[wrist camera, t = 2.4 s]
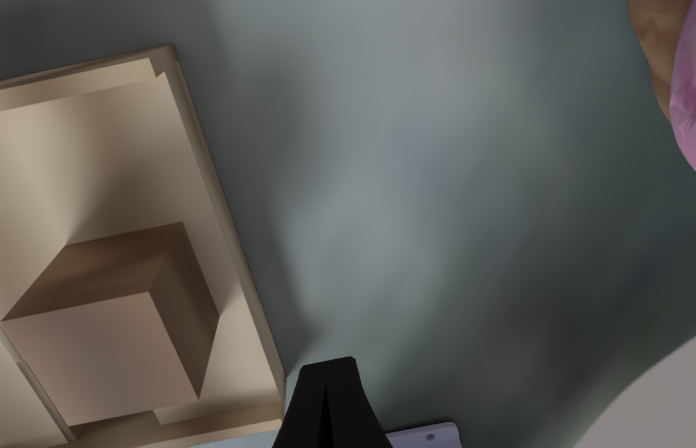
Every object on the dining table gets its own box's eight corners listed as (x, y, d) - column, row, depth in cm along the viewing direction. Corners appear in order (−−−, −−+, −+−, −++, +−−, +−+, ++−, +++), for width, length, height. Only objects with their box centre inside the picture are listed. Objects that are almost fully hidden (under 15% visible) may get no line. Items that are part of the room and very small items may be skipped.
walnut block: (182, 221, 19) (148, 291, 15) (219, 316, 21) (198, 400, 17) (64, 245, 19) (0, 321, 15) (113, 338, 21) (67, 426, 17)
